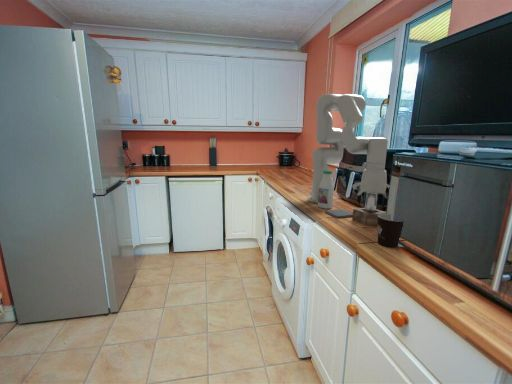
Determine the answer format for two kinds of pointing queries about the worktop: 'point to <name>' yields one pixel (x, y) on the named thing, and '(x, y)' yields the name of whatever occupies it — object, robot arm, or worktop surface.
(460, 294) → the worktop surface
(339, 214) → the rubber mat
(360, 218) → the open square box
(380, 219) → the coffee mug
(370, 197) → the steel pin
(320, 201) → the milk bottle
